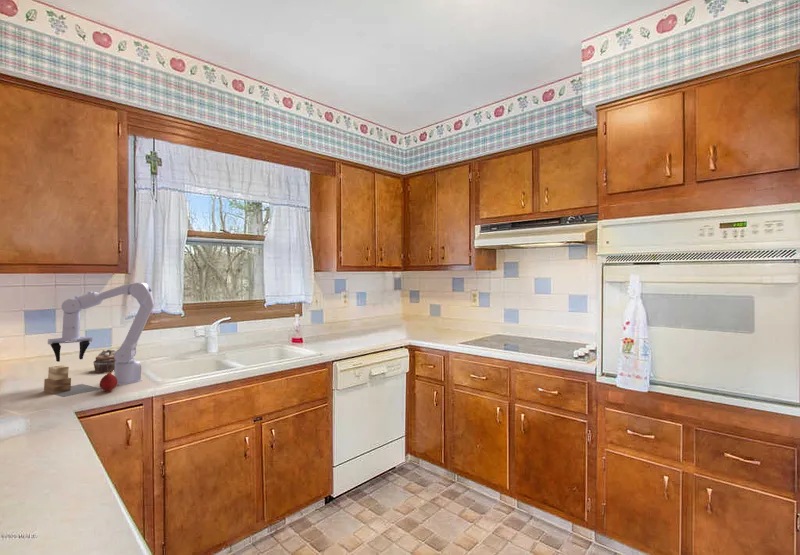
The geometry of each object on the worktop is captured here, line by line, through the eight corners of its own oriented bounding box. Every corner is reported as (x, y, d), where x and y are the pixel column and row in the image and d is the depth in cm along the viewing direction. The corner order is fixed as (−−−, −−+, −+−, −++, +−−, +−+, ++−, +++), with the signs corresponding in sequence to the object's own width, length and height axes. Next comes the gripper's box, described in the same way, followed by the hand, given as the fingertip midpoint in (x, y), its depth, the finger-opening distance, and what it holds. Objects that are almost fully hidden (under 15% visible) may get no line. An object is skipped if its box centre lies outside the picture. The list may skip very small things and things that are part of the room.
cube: (61, 376, 165) (61, 365, 165) (68, 378, 164) (68, 366, 164) (48, 378, 161) (48, 367, 161) (54, 380, 159) (55, 368, 160)
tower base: (61, 388, 166) (61, 382, 166) (70, 390, 164) (70, 384, 164) (43, 391, 161) (44, 385, 161) (52, 394, 158) (53, 387, 158)
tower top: (61, 382, 166) (62, 375, 166) (70, 384, 164) (71, 378, 164) (44, 385, 161) (44, 378, 161) (53, 387, 158) (53, 381, 158)
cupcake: (104, 368, 205) (105, 348, 205) (122, 369, 204) (123, 349, 204) (87, 372, 195) (88, 351, 195) (106, 373, 194) (107, 352, 194)
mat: (82, 384, 174) (82, 383, 174) (102, 389, 168) (102, 388, 168) (42, 392, 161) (42, 391, 161) (63, 397, 156) (63, 396, 156)
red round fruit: (107, 394, 162) (108, 374, 162) (95, 393, 163) (96, 372, 163) (120, 391, 168) (121, 371, 168) (108, 389, 169) (109, 370, 169)
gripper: (51, 329, 165) (49, 363, 165) (95, 327, 176) (93, 359, 176) (47, 327, 169) (45, 361, 169) (90, 325, 181) (88, 357, 181)
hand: (69, 360), depth 173 cm, fingers open, 7 cm apart
